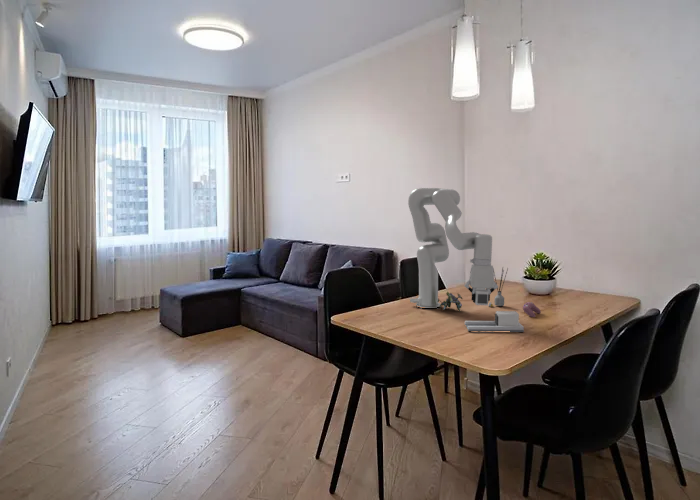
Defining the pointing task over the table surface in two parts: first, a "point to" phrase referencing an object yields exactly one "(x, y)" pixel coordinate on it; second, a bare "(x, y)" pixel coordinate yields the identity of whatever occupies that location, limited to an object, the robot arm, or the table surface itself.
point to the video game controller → (531, 309)
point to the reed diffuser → (499, 294)
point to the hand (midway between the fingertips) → (480, 301)
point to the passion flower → (451, 301)
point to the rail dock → (498, 323)
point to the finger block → (481, 296)
